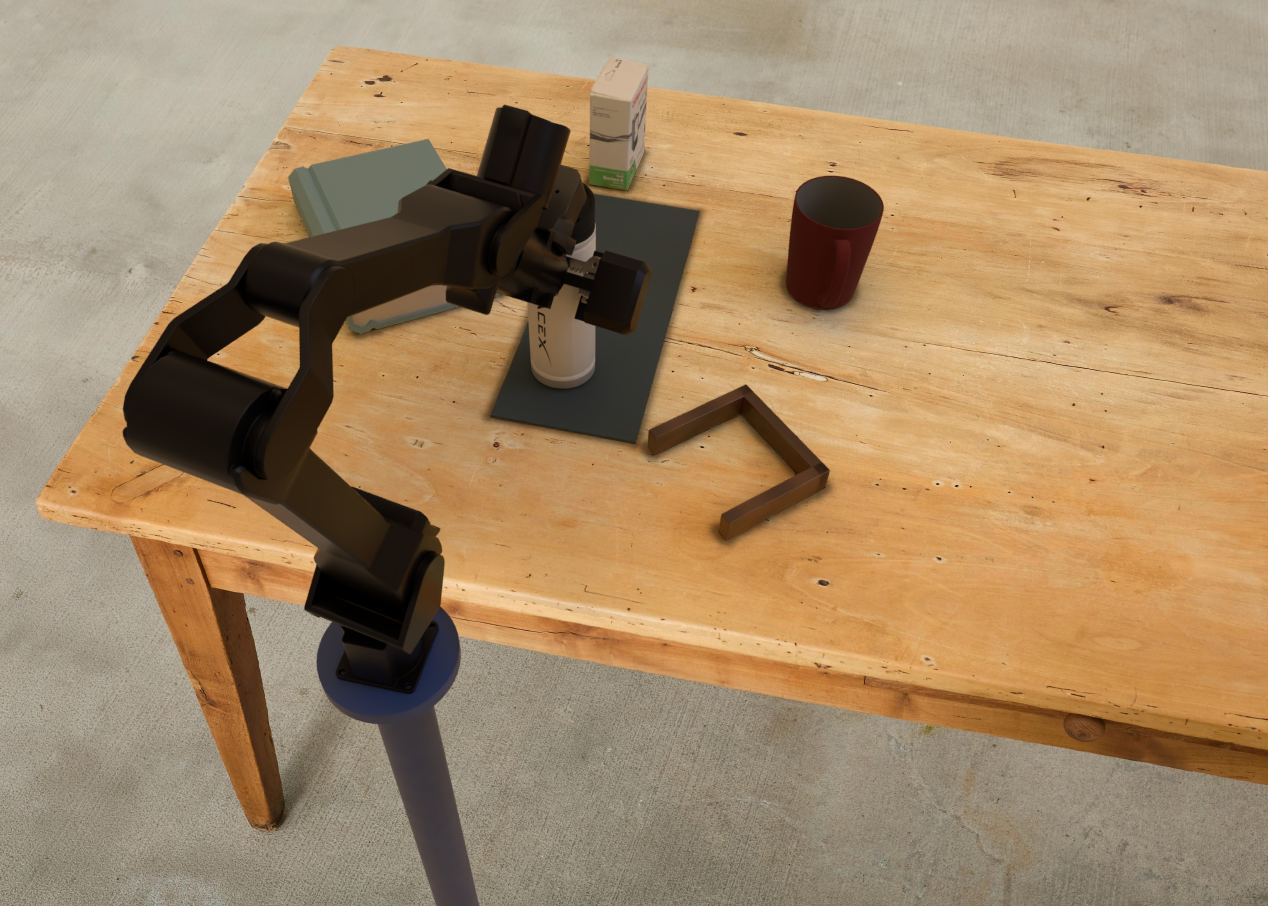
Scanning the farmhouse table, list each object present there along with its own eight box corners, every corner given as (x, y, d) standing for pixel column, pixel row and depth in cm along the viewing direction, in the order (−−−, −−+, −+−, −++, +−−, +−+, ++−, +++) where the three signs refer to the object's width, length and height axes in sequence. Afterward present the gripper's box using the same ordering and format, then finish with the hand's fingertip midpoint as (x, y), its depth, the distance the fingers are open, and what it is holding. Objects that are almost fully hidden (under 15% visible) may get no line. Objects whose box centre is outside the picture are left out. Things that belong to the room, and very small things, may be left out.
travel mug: (582, 339, 106) (581, 165, 92) (603, 382, 102) (606, 207, 87) (522, 352, 105) (511, 177, 90) (541, 396, 101) (533, 220, 86)
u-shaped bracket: (726, 540, 91) (729, 523, 89) (646, 447, 98) (648, 429, 96) (825, 487, 95) (830, 470, 94) (743, 401, 102) (746, 383, 100)
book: (502, 294, 110) (499, 257, 107) (351, 336, 106) (342, 298, 102) (433, 176, 123) (428, 138, 120) (295, 208, 118) (286, 170, 115)
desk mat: (635, 444, 98) (635, 441, 98) (490, 417, 99) (490, 415, 99) (699, 212, 121) (699, 210, 121) (580, 193, 122) (580, 191, 122)
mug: (868, 337, 108) (893, 252, 100) (783, 333, 108) (800, 248, 100) (856, 262, 116) (878, 177, 108) (776, 258, 116) (791, 173, 108)
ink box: (627, 192, 123) (631, 101, 114) (586, 185, 123) (587, 93, 114) (645, 151, 128) (650, 61, 119) (606, 144, 129) (608, 54, 120)
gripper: (650, 186, 79) (688, 223, 94) (430, 126, 83) (500, 171, 98) (607, 329, 80) (651, 343, 95) (392, 263, 84) (467, 287, 99)
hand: (567, 282), depth 97 cm, fingers closed on travel mug, 6 cm apart
